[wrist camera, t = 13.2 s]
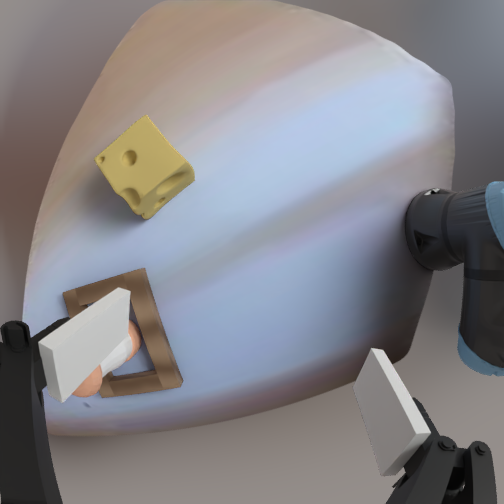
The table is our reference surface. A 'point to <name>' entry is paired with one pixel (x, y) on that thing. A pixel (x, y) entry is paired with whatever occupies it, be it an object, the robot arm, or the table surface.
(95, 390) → the salt shaker
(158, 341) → the rail frame
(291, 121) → the table surface
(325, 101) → the table surface
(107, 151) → the cheese
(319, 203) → the table surface
